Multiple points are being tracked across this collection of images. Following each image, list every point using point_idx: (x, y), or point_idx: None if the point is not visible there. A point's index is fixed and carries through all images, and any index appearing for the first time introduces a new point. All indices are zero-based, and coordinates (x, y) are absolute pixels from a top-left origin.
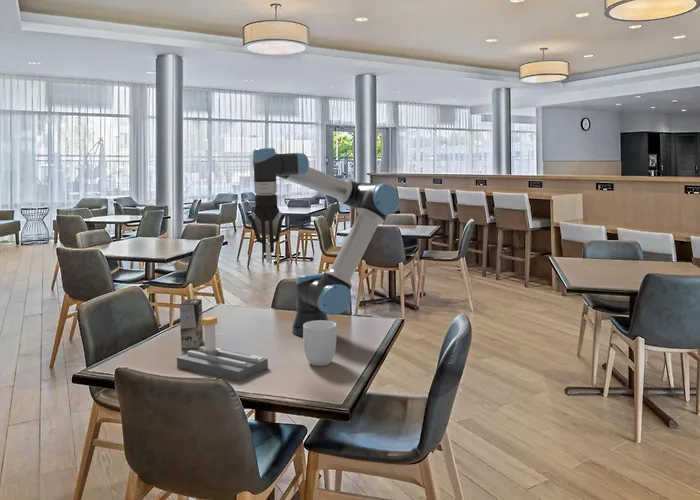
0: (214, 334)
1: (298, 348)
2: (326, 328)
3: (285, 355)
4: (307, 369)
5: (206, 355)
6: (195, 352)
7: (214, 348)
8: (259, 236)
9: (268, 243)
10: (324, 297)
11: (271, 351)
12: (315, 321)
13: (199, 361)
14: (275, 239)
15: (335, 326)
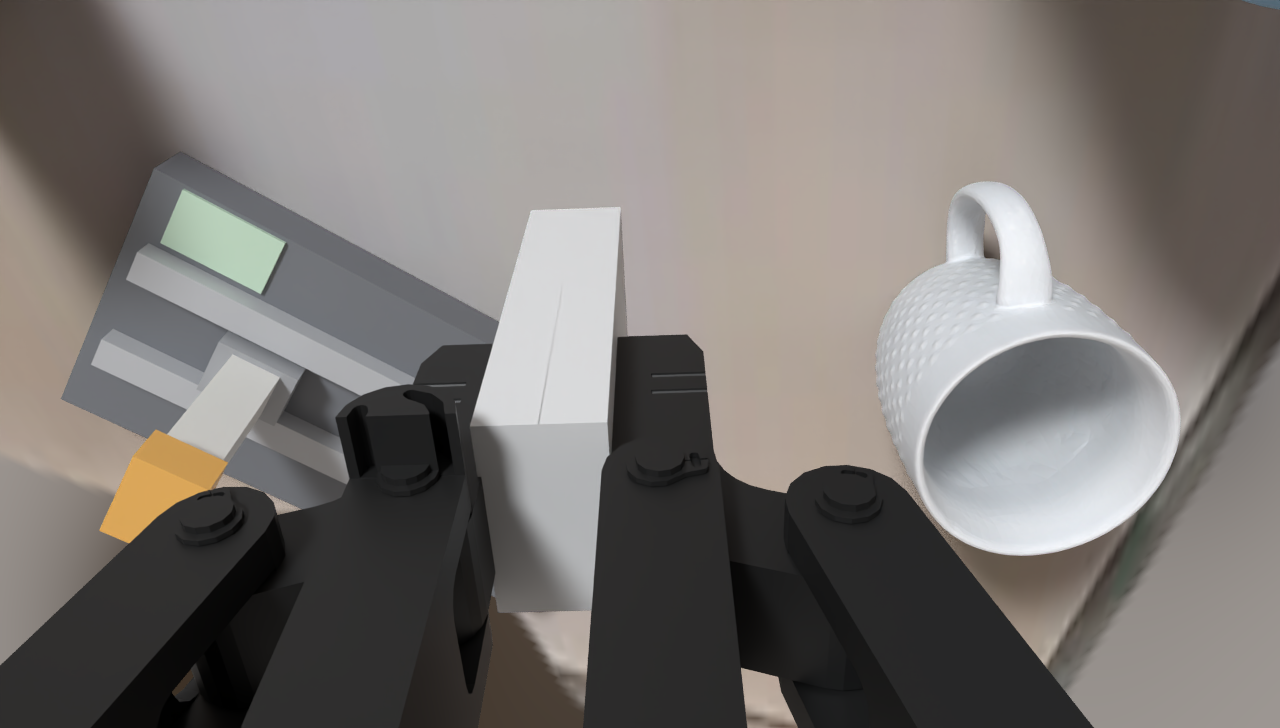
0: (240, 435)
1: (823, 6)
2: (1078, 544)
3: (730, 173)
4: (868, 422)
5: (254, 437)
6: (156, 383)
7: (272, 390)
8: (195, 635)
9: (562, 528)
10: (1274, 4)
11: (621, 79)
12: (1027, 341)
13: (237, 464)
14: (799, 694)
15: (1158, 485)
